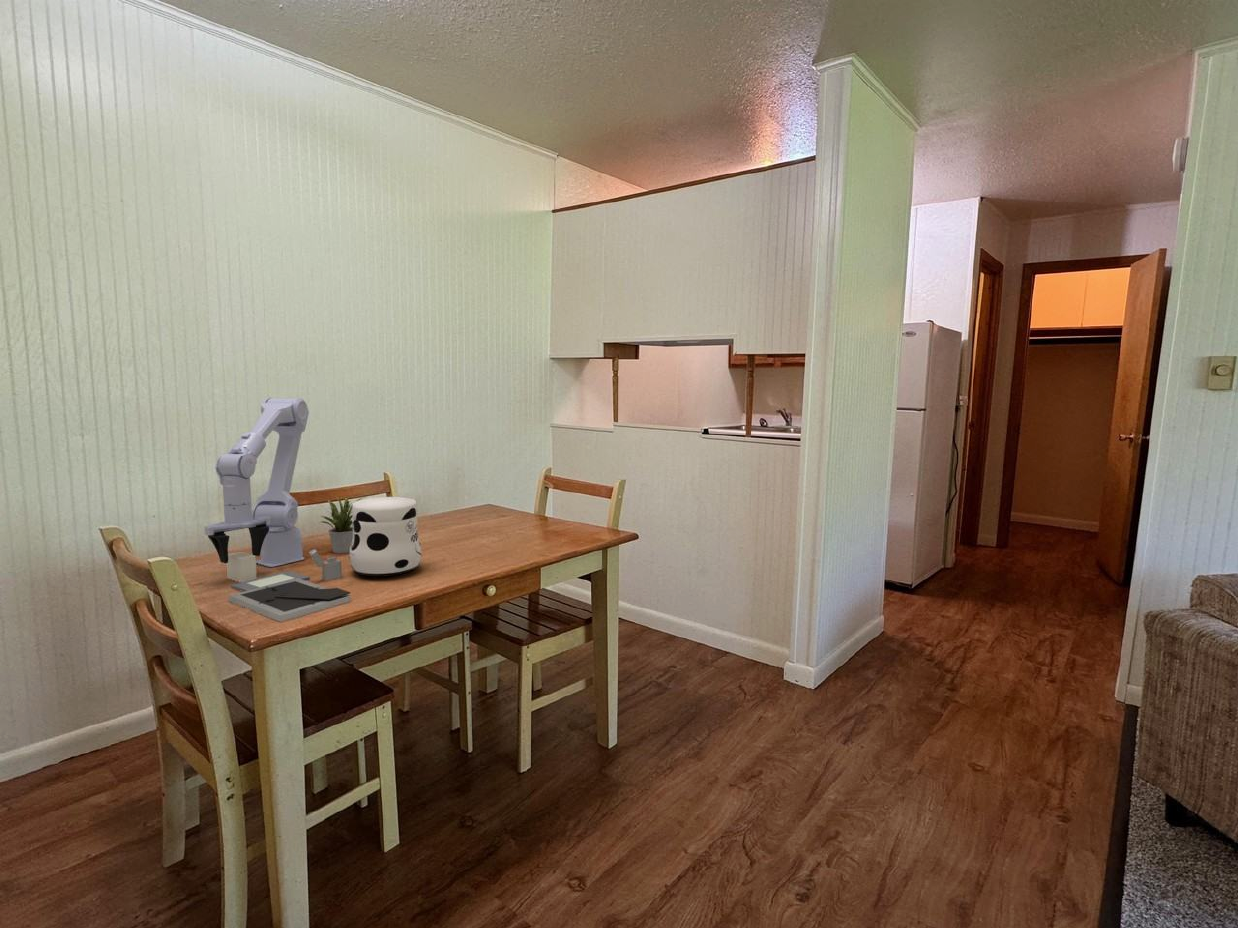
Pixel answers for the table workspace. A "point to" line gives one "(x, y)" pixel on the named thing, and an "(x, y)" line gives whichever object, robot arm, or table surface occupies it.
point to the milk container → (384, 536)
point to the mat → (268, 580)
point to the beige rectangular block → (241, 567)
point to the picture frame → (290, 599)
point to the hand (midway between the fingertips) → (240, 558)
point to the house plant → (341, 526)
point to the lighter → (327, 566)
